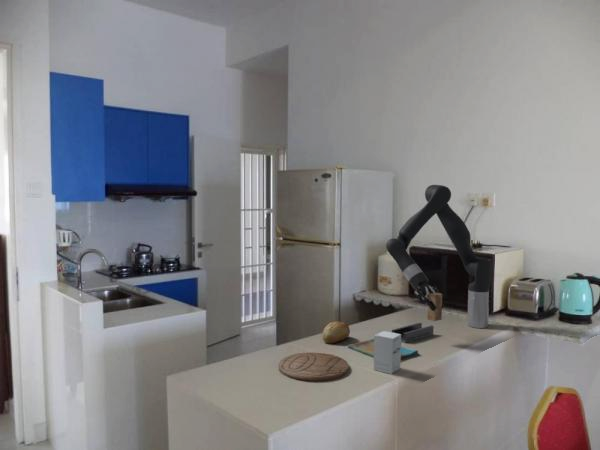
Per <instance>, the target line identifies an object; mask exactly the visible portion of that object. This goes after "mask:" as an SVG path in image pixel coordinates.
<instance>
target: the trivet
mask: <svg viewBox="0 0 600 450" xmlns="http://www.w3.org/2000/svg"><path fill="white" fill-rule="evenodd" d="M278 371H279V372H280V373H281V375H283V376H285V377H287V378H289V379H292V380H296V381H297V380H298V381H303V382H315V383H316V382H328V381H333V380H337V379H341V378H343V377H344V376H346V375H347V374H348V373H349V362H348V361H347V360H346V359H345V358H342V357H340V356H338V355H334V354H331V353H324V352H301V353H294V354H291V355H288V356H285V357H283V358H282V359H280V361H279V362H278Z"/></svg>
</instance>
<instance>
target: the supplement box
mask: <svg viewBox="0 0 600 450" xmlns="http://www.w3.org/2000/svg"><path fill="white" fill-rule="evenodd" d="M373 339H374V358H373V370H374V371H379V372H382V373H385V374H390V375H392V374H393V373H395V372H397V371H399V369H401V364H402V363H401V361H402V360H401V347H402V342H401V334H397V333H392V331H386V330H383V331H381V332H379V333H376V334H375V335H374V338H373Z"/></svg>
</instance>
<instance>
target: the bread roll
mask: <svg viewBox="0 0 600 450" xmlns="http://www.w3.org/2000/svg"><path fill="white" fill-rule="evenodd" d="M350 333H351V329H350V326H349V325H348V323H346V322H342V321H332V322H329V323H328V324H327V325H326V326H325V327H324V329H323V331H322V340H323V342H325V343H327V344H334V343H338V342H340V341H342V340H344V339H348V337H349V336H350Z"/></svg>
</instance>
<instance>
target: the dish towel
mask: <svg viewBox="0 0 600 450" xmlns="http://www.w3.org/2000/svg"><path fill="white" fill-rule="evenodd" d="M347 349H350V350H352V351H355V352H358V353H361V354H363V355H365V356H369V357H371V358H373V359H374V338H372V339H368V340H365V341H359V342H356V343H351V344H348V346H347ZM418 356H420V353H419V350H417V349H414V350H412V349H410V348H406V347H405V346H401V361H404V360H407V359H412V358H414V357H415V358H416V357H418Z"/></svg>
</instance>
